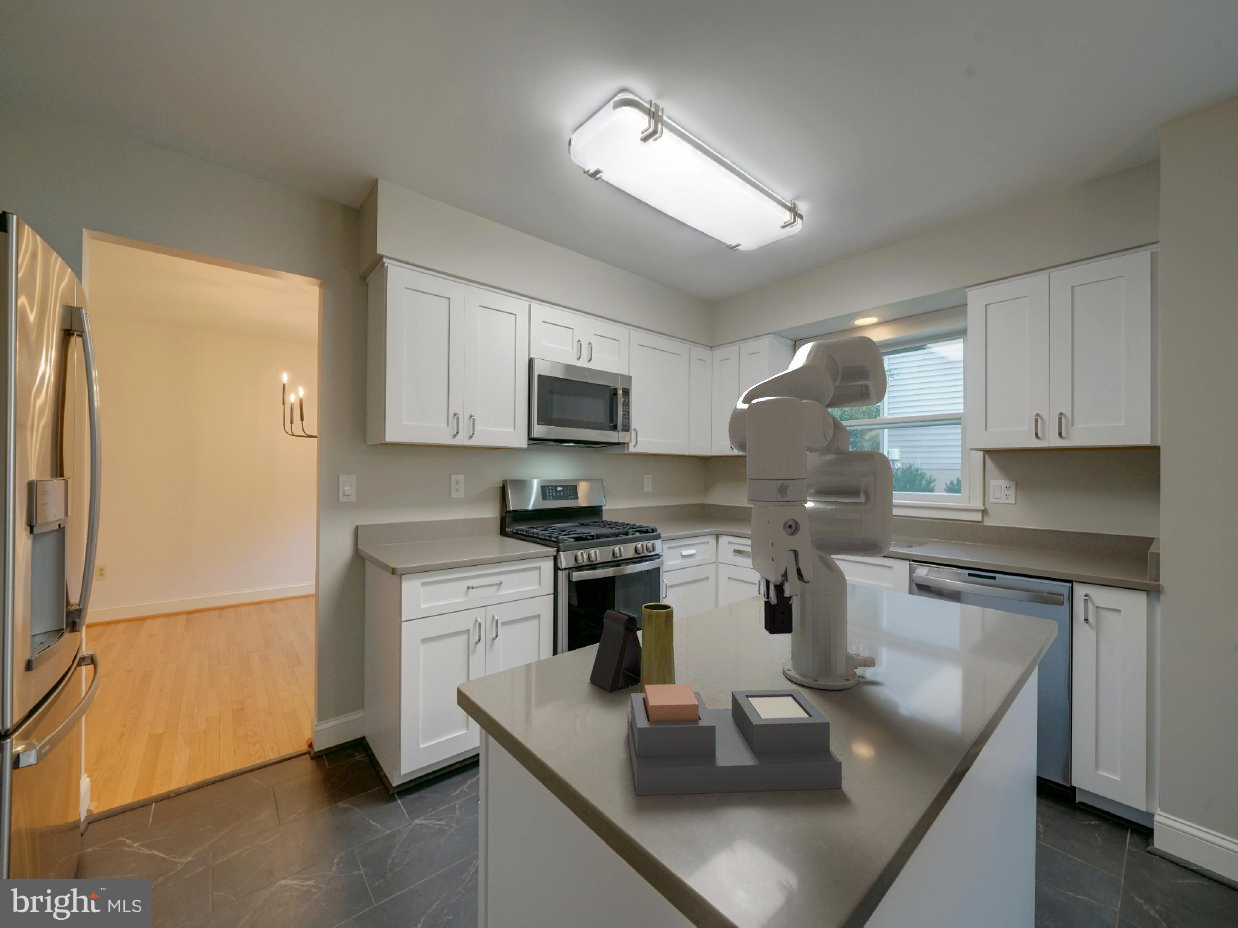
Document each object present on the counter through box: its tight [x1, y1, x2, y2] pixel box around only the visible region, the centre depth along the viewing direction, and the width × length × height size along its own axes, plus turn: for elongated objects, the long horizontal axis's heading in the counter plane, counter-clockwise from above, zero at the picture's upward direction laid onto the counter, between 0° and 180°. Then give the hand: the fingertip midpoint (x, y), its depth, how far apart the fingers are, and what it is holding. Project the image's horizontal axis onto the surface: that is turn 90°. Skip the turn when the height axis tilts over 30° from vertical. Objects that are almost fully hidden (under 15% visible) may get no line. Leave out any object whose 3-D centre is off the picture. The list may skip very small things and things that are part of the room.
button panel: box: [627, 688, 843, 796], centre depth 66 cm, size 24×14×6 cm, turn 93°
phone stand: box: [589, 608, 642, 694], centre depth 90 cm, size 9×6×12 cm, turn 127°
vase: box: [638, 602, 676, 693], centre depth 85 cm, size 6×6×14 cm
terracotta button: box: [645, 683, 699, 722], centre depth 65 cm, size 6×6×3 cm
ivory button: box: [748, 697, 809, 718], centre depth 66 cm, size 6×6×3 cm
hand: (778, 631), depth 67 cm, fingers closed
